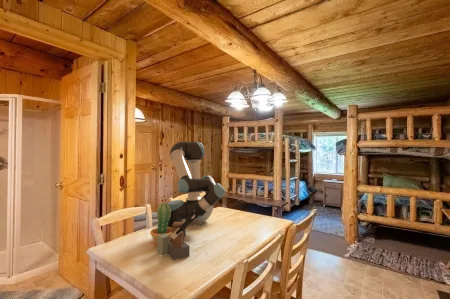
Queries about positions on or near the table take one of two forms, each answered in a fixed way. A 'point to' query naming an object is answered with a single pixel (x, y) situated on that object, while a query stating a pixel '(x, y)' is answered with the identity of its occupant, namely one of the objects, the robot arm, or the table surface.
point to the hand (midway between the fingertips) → (175, 232)
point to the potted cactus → (162, 222)
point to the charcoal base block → (178, 251)
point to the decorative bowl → (202, 218)
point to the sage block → (163, 244)
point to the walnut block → (180, 238)
